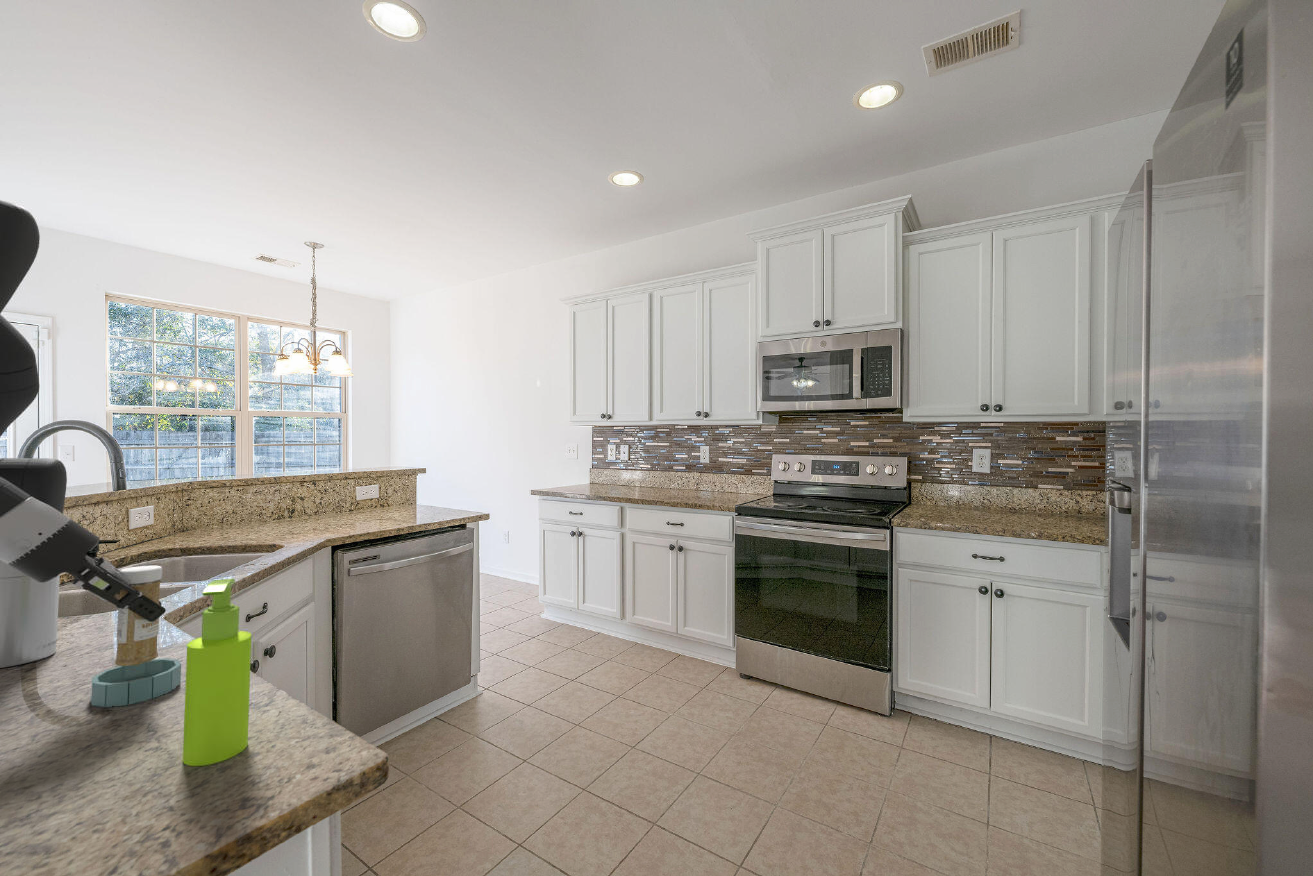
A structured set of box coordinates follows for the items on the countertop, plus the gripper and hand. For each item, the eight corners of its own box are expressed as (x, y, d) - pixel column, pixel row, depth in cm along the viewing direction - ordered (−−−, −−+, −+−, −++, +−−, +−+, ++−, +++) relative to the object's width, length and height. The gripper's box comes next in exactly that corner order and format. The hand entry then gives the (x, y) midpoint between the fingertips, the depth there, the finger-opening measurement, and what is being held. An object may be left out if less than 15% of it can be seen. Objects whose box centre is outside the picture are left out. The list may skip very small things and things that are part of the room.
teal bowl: (73, 710, 72) (74, 688, 72) (117, 682, 81) (118, 662, 81) (158, 701, 75) (159, 680, 75) (192, 675, 83) (192, 655, 83)
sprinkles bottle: (154, 663, 77) (158, 568, 77) (109, 669, 74) (114, 572, 75) (161, 653, 81) (165, 563, 81) (119, 659, 78) (123, 566, 79)
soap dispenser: (171, 776, 58) (178, 590, 58) (191, 745, 64) (197, 577, 65) (239, 763, 61) (245, 585, 61) (252, 734, 67) (257, 572, 67)
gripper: (69, 522, 68) (190, 600, 77) (67, 513, 77) (175, 583, 86) (0, 570, 64) (136, 647, 72) (7, 554, 73) (127, 624, 82)
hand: (157, 612), depth 79 cm, fingers closed on sprinkles bottle, 4 cm apart
